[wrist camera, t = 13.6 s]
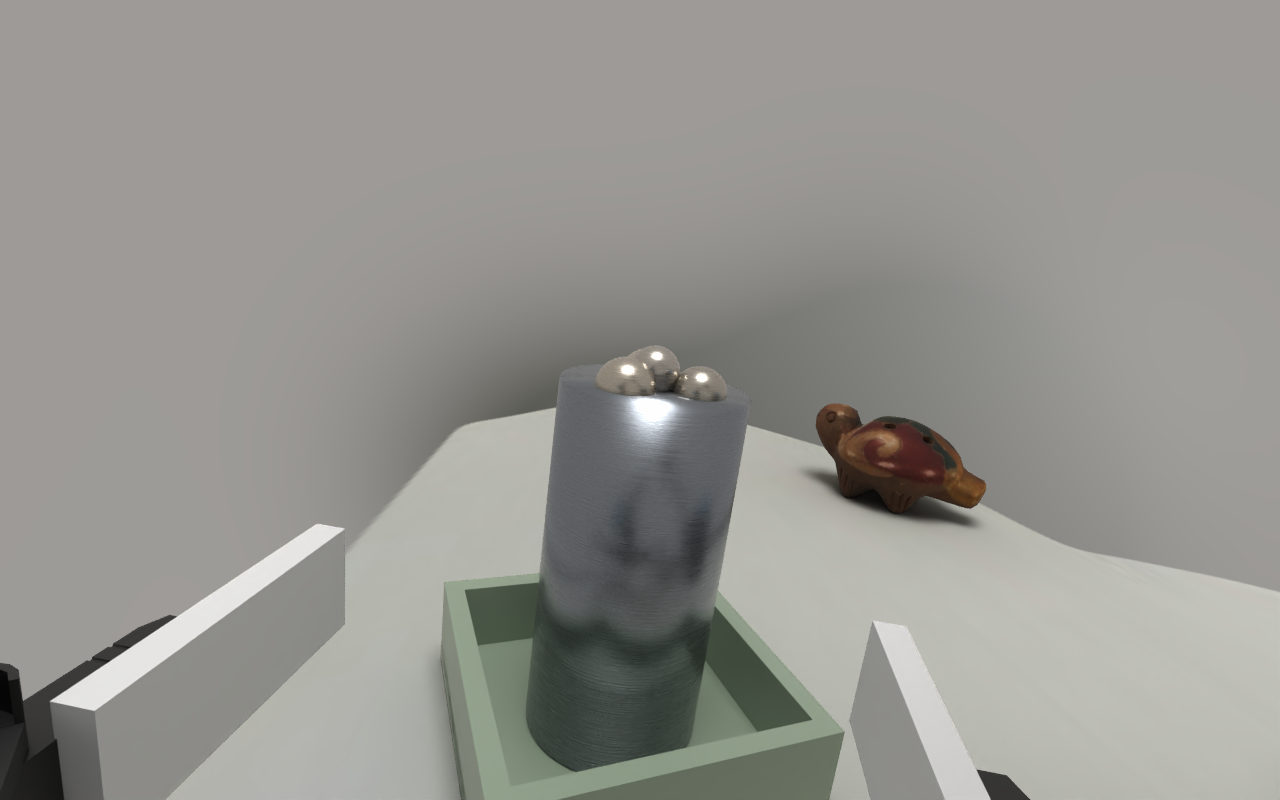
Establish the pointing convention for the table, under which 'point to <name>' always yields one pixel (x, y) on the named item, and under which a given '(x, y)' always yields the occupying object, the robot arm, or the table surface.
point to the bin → (645, 787)
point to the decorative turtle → (895, 460)
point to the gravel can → (631, 556)
